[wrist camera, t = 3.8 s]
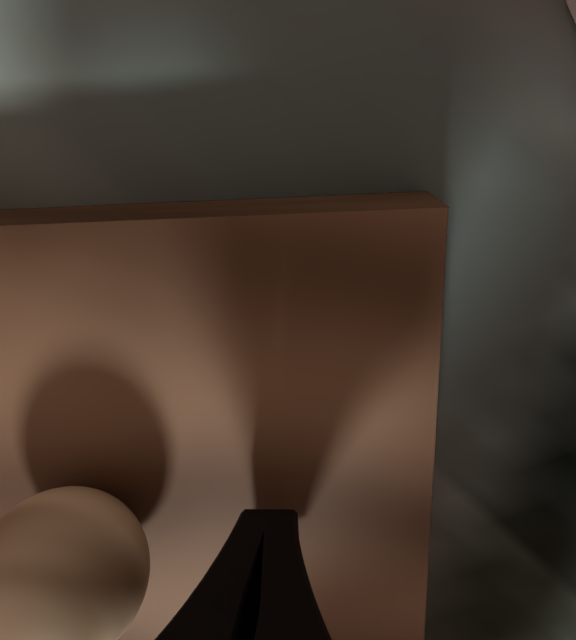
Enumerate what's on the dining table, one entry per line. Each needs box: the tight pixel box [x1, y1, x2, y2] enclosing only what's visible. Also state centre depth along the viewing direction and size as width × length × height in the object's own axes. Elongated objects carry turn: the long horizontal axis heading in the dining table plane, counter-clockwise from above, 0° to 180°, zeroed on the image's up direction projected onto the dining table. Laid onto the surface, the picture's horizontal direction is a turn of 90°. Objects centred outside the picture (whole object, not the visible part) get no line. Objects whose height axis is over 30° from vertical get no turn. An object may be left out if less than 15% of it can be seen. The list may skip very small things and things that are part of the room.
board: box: [0, 191, 448, 640], centre depth 16 cm, size 16×22×2 cm
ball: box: [0, 486, 150, 640], centre depth 13 cm, size 4×4×4 cm
